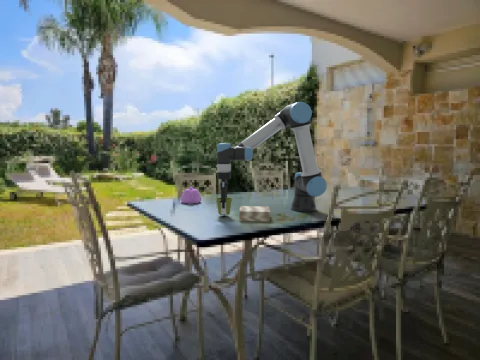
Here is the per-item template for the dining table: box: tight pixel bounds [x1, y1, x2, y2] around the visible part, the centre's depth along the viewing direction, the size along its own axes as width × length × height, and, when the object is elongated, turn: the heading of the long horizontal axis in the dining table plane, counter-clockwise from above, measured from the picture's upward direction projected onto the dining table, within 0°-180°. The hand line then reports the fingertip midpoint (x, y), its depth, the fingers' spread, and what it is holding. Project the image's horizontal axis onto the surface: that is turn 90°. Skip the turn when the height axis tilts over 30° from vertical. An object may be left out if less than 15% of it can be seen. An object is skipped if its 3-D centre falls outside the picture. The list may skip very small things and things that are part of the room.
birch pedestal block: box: [238, 205, 271, 222], centre depth 196 cm, size 16×16×5 cm
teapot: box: [180, 186, 202, 205], centre depth 245 cm, size 14×20×11 cm
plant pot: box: [215, 196, 233, 216], centre depth 199 cm, size 9×9×9 cm
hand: (224, 212), depth 199 cm, fingers closed on plant pot, 8 cm apart
